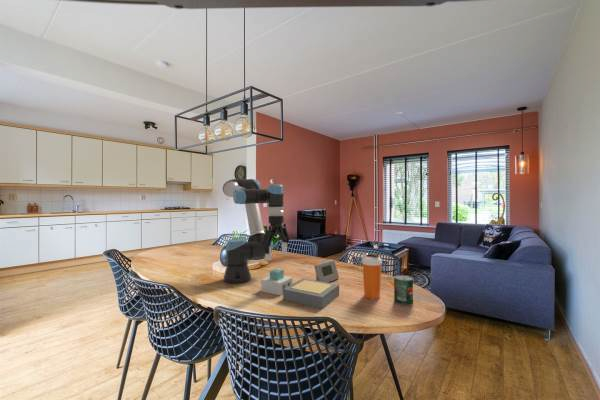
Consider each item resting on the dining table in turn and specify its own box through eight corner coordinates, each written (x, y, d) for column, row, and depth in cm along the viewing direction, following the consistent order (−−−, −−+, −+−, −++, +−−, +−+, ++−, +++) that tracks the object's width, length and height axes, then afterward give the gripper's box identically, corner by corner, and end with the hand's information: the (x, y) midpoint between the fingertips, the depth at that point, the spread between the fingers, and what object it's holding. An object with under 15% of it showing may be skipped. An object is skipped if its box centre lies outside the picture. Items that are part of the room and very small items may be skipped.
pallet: (261, 291, 136) (261, 279, 135) (273, 285, 144) (273, 274, 144) (281, 295, 129) (280, 283, 129) (292, 289, 138) (292, 277, 138)
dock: (283, 299, 124) (283, 288, 124) (303, 287, 139) (302, 277, 139) (322, 308, 114) (322, 296, 114) (339, 295, 129) (339, 284, 129)
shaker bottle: (378, 301, 121) (378, 256, 120) (359, 297, 126) (359, 254, 125) (384, 295, 128) (384, 253, 128) (365, 291, 133) (365, 251, 133)
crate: (269, 279, 136) (269, 271, 136) (275, 276, 140) (275, 268, 140) (277, 280, 133) (277, 272, 133) (283, 277, 138) (283, 270, 137)
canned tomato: (392, 298, 124) (392, 274, 124) (410, 298, 123) (409, 274, 123) (396, 305, 116) (396, 280, 116) (415, 306, 115) (415, 280, 115)
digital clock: (319, 286, 142) (319, 266, 142) (310, 281, 150) (309, 262, 149) (343, 280, 151) (342, 261, 151) (332, 276, 158) (332, 258, 158)
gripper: (266, 217, 123) (267, 263, 124) (295, 213, 145) (296, 253, 145) (253, 216, 127) (254, 261, 128) (283, 213, 149) (284, 252, 149)
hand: (276, 257), depth 136 cm, fingers open, 13 cm apart
